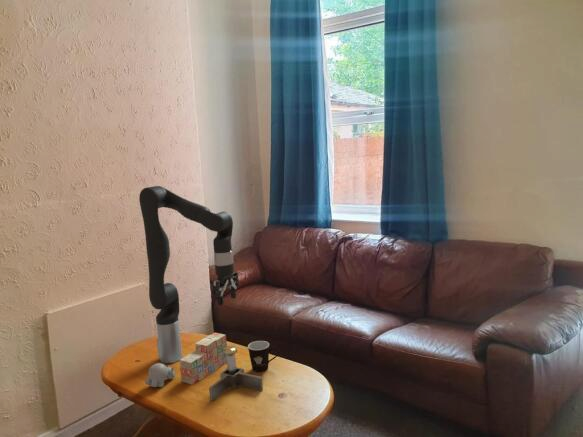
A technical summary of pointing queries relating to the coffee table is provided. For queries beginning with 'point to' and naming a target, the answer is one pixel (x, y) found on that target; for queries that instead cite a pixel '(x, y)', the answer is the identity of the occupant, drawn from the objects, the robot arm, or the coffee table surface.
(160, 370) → the chubby cartoon animal
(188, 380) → the stack of blocks
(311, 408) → the coffee table surface
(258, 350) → the coffee mug
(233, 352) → the hinge pin
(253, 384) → the hinge leaves
